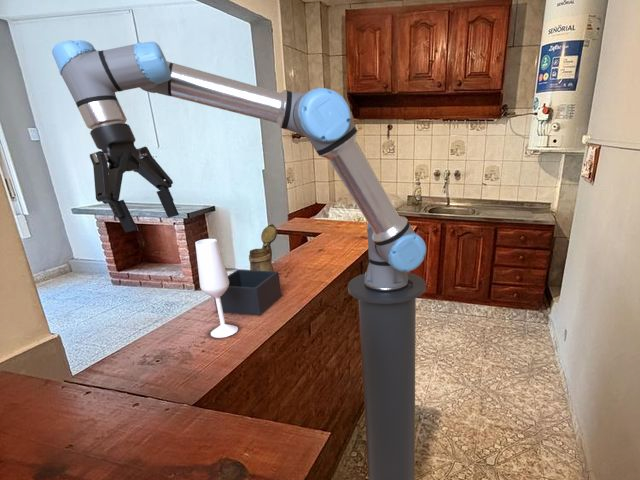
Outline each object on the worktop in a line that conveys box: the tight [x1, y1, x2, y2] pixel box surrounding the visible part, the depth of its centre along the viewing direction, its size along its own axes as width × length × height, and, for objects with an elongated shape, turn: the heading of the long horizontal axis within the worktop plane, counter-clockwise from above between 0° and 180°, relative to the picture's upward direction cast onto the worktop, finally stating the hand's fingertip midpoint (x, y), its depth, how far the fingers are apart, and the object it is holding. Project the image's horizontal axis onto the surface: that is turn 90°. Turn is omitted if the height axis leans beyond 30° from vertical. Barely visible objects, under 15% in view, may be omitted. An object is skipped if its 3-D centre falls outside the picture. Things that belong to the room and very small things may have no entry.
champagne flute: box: [195, 238, 239, 339], centre depth 98 cm, size 7×7×24 cm
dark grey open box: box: [213, 269, 282, 316], centre depth 117 cm, size 14×14×8 cm
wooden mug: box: [248, 223, 278, 271], centre depth 133 cm, size 9×14×18 cm, turn 159°
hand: (154, 223), depth 91 cm, fingers open, 13 cm apart
